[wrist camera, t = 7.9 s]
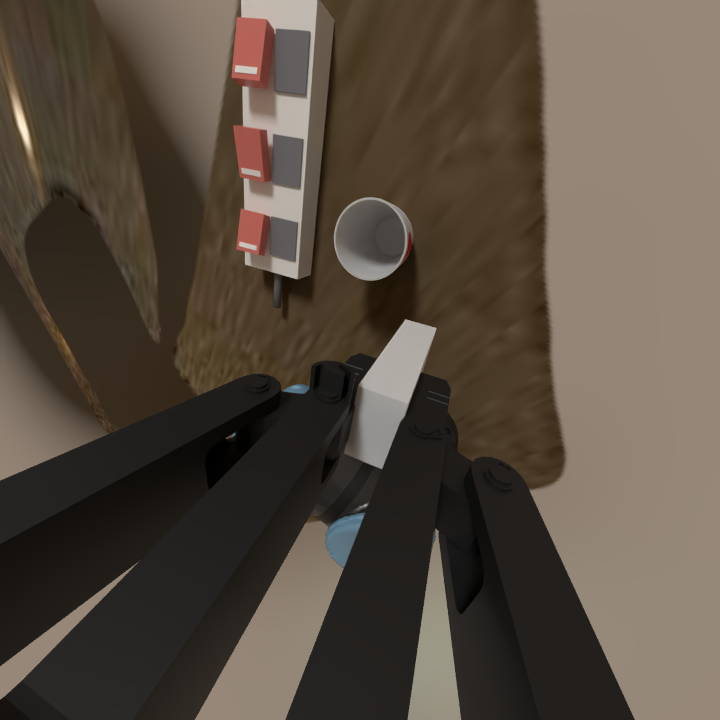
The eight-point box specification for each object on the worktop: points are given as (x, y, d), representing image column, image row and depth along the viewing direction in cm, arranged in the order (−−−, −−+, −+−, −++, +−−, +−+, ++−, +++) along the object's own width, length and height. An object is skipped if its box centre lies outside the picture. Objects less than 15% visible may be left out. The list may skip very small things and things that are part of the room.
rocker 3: (264, 256, 41) (258, 255, 40) (243, 250, 42) (236, 249, 41) (270, 216, 40) (263, 214, 38) (247, 211, 40) (240, 208, 39)
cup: (392, 280, 42) (371, 295, 33) (352, 238, 41) (320, 243, 33) (436, 234, 37) (424, 238, 29) (391, 187, 37) (366, 177, 28)
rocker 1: (267, 89, 32) (259, 80, 31) (240, 85, 33) (231, 77, 32) (274, 30, 31) (266, 18, 30) (246, 28, 32) (236, 16, 30)
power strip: (307, 311, 49) (293, 318, 45) (261, 296, 51) (244, 302, 47) (334, 20, 32) (316, -5, 29) (264, 16, 34) (239, -8, 31)
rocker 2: (270, 181, 38) (263, 182, 36) (247, 176, 38) (239, 177, 37) (266, 129, 34) (259, 129, 33) (241, 125, 35) (232, 125, 34)
